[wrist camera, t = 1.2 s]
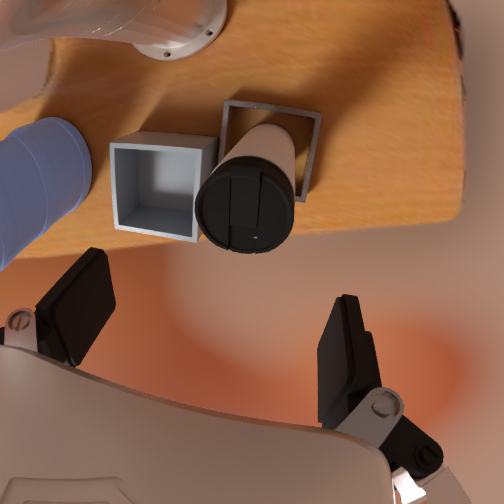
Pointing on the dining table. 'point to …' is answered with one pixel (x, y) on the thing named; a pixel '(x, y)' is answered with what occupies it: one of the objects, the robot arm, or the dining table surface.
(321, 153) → the dining table surface
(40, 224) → the water jug
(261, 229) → the travel mug
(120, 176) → the grey bin
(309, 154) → the metal collar
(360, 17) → the dining table surface
